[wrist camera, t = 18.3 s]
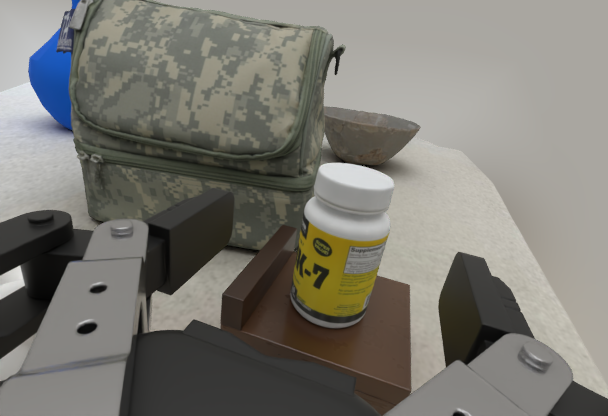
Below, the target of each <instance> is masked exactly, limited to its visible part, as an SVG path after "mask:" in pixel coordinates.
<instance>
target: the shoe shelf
mask: <svg viewBox="0 0 608 416" xmlns="http://www.w3.org/2000/svg"><path fill="white" fill-rule="evenodd" d="M296 234H297V228H294V227H290V226H286V225H282V226H281V227H280V228H279V229H278V230H277V232H276V233H275V234H274V235H273V236H272V237H271V238H270V240H269V241H268V242H267V243H266V244H265V245H264V247H263V248H262V249H261V250H260V251H259V252H258V253H257V255H256V256H255V257H254V258H253V259H252V260H251V262H250V263H249V264H248V265H247V266H246V267H245V268H244V270H243V271H242V272H241V273H240V274H239V275H238V277H237V278H236V279H235V280H234V281H233V282H232V283H231V285H230V286H229V287H228V288H227V289H226V290H225V292H224V293H223V294H222V308H221V329H222V330H225V331H228V332H230V333H232V334H233V335H235V336H236V337H238V338H240V339H241V340H243V341H244V342H246V343H247V344H249V345H250V346H252V347H253V348H255V349H256V350H258V351H259V352H261V353H262V354H264V355H267V356H270V357H278V358H285V359H293V360H300V361H308V362H314V363H317V364H320V365H322V366H325V367H328V368H331V369H333V370H336V371H339V372H342V373H345V374H347V375H350V376H353V377H356V378H357V379H356V385H355V391H354V393H355V394H356V395H358V396H359V397H361V398H362V399H364V400H365V401H366V402H367V403H369V404H370V405H371V406H372V407H373V408H374V409H375V410H376V411H377V412H378V413H379V414H380V415H381V416H383V415H384V414H386V413H387V412H388V411H390V410H391V409H392V408H394V407H395V406H396V405H397V404H399V403H400V402H401V401H403V400H404V399H405V398H407V397H408V396H409V395H410V393H411V340H410V285H408V284H405V283H401V282H398V281H394V280H391V279H387V278H384V277H380V276H376V279H375V282H374V286H373V289H372V292H371V296H370V299H369V303H368V306H367V309H366V312H365V315H364V316H363V318H362V319H361V320H360V321H359V322H357V323H356V324H354V325H351V326H349V327H345V328H327V327H322V326H319V325H316V324H314V323H312V322H310V321H308V320H307V319H305V318H304V317H303V316H302V315H301V314H300V313H299V312H298V311H297V310H296V309H295V307H294V305H293V303H292V301H291V286H292V279H293V274H294V267H295V261H296V255H297V252H293V251H294V247H295V240H296Z"/></svg>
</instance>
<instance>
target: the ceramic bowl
mask: <svg viewBox="0 0 608 416" xmlns="http://www.w3.org/2000/svg"><path fill="white" fill-rule="evenodd" d="M324 118H325V131H324V132H325V135H326V137H327V140H328V142H329V145H330V146H331V148H332V150H333V151H334V152H335V154H336V155H337V156H338V157H339V158H340V159H342V160H343V161H345V162H347V163H351V164H365V165H378V164H382V163H384V162H385V161H387V160H389V159H390V158H392V157H393V156H394V155H395V154H397V153H398V152H399V151H400V150H401V149H402V148H403V147H404V146H405V145H406V144H407V143H408V142H409V141H410V140H411V139H412V138H413V137H414V136H415V135H416V133H417V132H418V131H419V129H420V126H419V125H417V124H416V123H414V122H411V121H407V120H404V119H401V118H396V117H393V116H390V115H385V114H377V113H368V112H364V111H356V110H350V109H343V108H337V107H324Z"/></svg>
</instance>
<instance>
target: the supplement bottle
mask: <svg viewBox="0 0 608 416" xmlns="http://www.w3.org/2000/svg"><path fill="white" fill-rule="evenodd" d="M393 190H394V181H393V180H392V179H391V178H390V177H389V176H387V175H385V174H384V173H381V172H379V171H377V170H374V169H371V168H367V167H364V166H359V165H354V164H347V163H326V164H323V165H321V166H320V167H319V169H318V173H317V177H316V181H315V185H314V195H315V196H314V197H312V198H311V199H310V200H309V201H308V202H307V204H306V206H305V209H304V213H303V219H302V225H301V231H300V238H299V243H298V249H297V255H296V261H295V267H294V274H293V279H292V286H291V301H292V303H293V305H294V307H295V309H296V310H297V311H298V312H299V313H300V314H301V315H302V316H303V317H304V318H305V319H307V320H308V321H310V322H312V323H314V324H316V325H319V326H322V327H327V328H345V327H349V326H351V325H354V324H356V323H357V322H359V321H360V320H361V319H362V318H363V316H364V315H365V312H366V309H367V306H368V303H369V299H370V296H371V292H372V289H373V286H374V282H375V279H376V276H377V272H378V269H379V265H380V262H381V258H382V255H383V252H384V248H385V245H386V241H387V238H388V235H389V231H390V219H389V217H388V215H387V213H386V211H387V210H388V208H389V205H390V203H391V198H392V194H393Z"/></svg>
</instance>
